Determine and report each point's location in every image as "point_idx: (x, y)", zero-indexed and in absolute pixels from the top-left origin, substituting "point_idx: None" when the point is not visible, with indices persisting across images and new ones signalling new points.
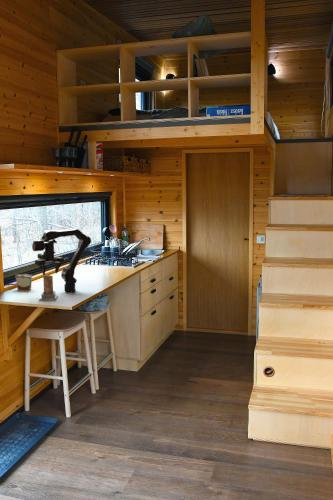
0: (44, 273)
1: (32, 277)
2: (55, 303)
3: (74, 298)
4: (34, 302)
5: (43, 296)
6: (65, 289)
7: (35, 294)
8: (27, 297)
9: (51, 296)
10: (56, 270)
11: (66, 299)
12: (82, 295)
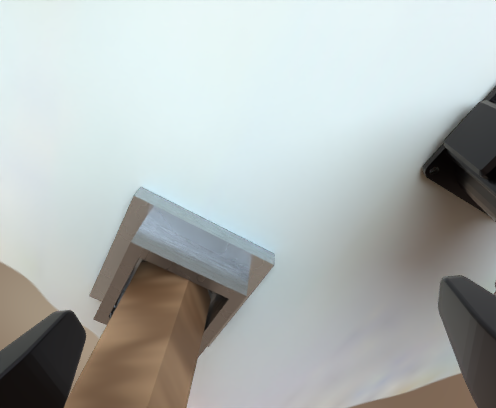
0: (54, 393)
1: None
2: None
3: (343, 360)
4: (56, 303)
5: None
6: (456, 159)
7: (103, 37)
8: (6, 127)
9: None
10: (483, 389)
11: (282, 352)
12: None
